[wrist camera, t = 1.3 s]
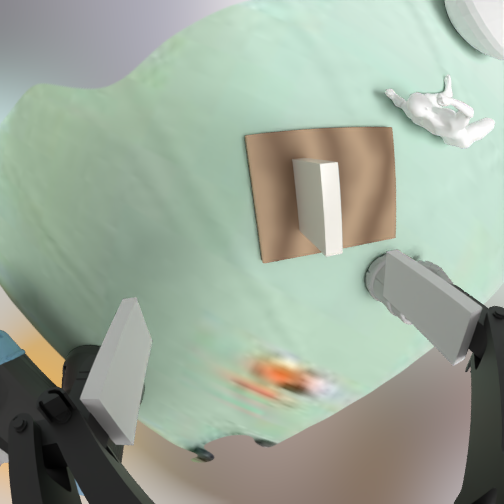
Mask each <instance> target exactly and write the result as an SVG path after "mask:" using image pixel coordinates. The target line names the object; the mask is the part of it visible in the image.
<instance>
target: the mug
mask: <svg viewBox="0 0 504 504" xmlns="http://www.w3.org/2000/svg"><path fill="white" fill-rule="evenodd" d="M417 262H418V263H420V264H421V265H423V266H424V267H426V268H427V269H429V270H430V271H432V272H433V273H435V274H436V275H438V276H439V277H441V278H442V279H444V280H445V281H446V282H448V283H451V284H453V282H452V281H451V280H450V279H449V277H448V276H447V275H446V273H445V272H444V271H443V269H442V268H441V267H439V266H437V265H435V264H433V263H431V262H429V261H425V262H424V261H420V260H419V261H417ZM385 265H386V254H385V255H383V256H382V257H378V258H377V259H376V260H375V261H374V262H373V263H372V264H371V265H370V267H369V269H368V270H369V271H367V273H366V286H367V289H368V291H369V293H370V295H371V296H372V297H373V298H374V299H375V300H377V301H380V302H382V303H383V304H384V305H385V306H386V307H387V309H388V310H389V311H390V312H391V313H392V314H393V315H395V316H398V317H399V318H400V319H401V320H402V321H403V322H404V323H406V324H412V323H411V322H410V321H409V320H408V319H407V318H406V317H405V316H404V315H403V314H402V313H400V312H399V311H398V310H397V309H396V308H395V307H394V306H393V305H392V304H391V303H390V302H389V301H388V300H387V299H386V298H385V297H384V296H383V289H384V278H385ZM453 285H454V284H453Z"/></svg>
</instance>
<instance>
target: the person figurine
mask: <svg viewBox="0 0 504 504" xmlns="http://www.w3.org/2000/svg"><path fill="white" fill-rule="evenodd" d="M444 82H445V91H444V92H442V93H436V94H430V93H425V94H424V95H423V94H421V93H418V92H416V93H413V94H411V95H410V97H409V98H408V101H405V100H404V99H403V98H402V97H400V96H399V95H397V94H396V93H395V91H394V90H393V89H388V90H387V89H386V92H385V94H386V95H387V96H388V97H389V98H390V99H392V101H393V103H394V104H395V106H397V107H399V108H401V109H403V111H404V112H405V114H406V115H407V117H409V118H410V119H412V121H413V122H414V123H415V124H417V125H419V126H421V127H423V128H425V129H427V130H428V131H429V132H430V133H432V134H434V135H437V136H442V139H443V140H444V142H445V143H446V144H448V145H451V146H456V147H460V148H461V149H463V148H468V147H469V146H470V145H471V144H472V143H473V142H474V141H477V140H480V139H482V138H483V137H485V136H486V135H487V134H488V133H489V132H490V131H491V130H493V128H494V125H495V122H494V120H493V119H490V118H483V119H481V120H479V121H476V122H473V123H471V124H468V123H469V120H470V118H472V117H473V114H474V110H473V108H472V107H470V106H469V105H467V104H466V103H464V102H462V101H459V100H456V99H453V98H452V96H453V93H452V89H451V78H450V75H446V76H445V78H444ZM448 105H453V106H454V107H456V108H457V109H458V112H457V113H455V111H453V110H451V109H449V108H442V107H443V106H448ZM441 106H442V107H441Z"/></svg>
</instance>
